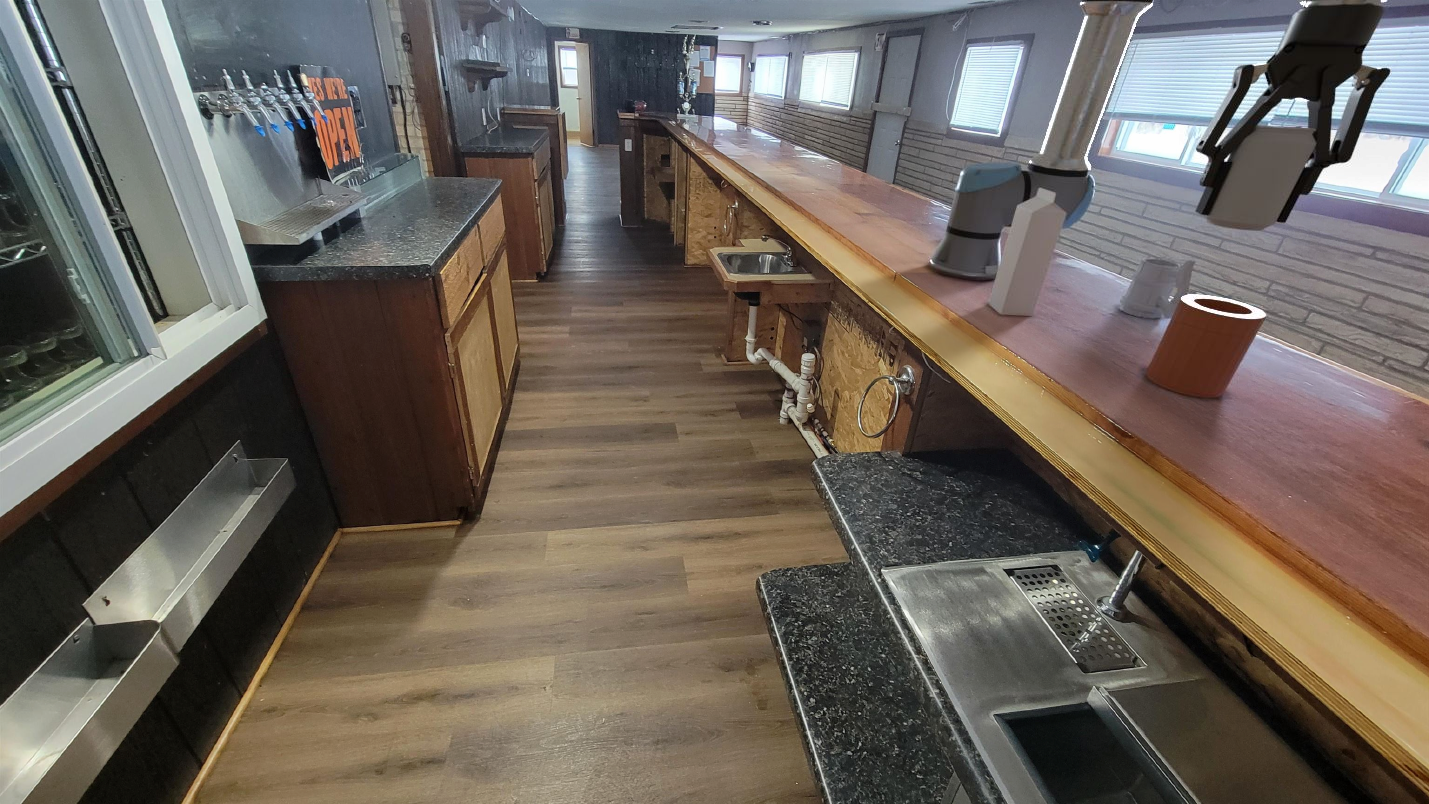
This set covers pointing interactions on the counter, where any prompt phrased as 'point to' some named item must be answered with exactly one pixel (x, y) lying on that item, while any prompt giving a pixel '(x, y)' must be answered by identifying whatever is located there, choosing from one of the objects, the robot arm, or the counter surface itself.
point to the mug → (1156, 288)
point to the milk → (1027, 254)
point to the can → (1261, 177)
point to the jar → (1204, 345)
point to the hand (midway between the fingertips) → (1238, 216)
